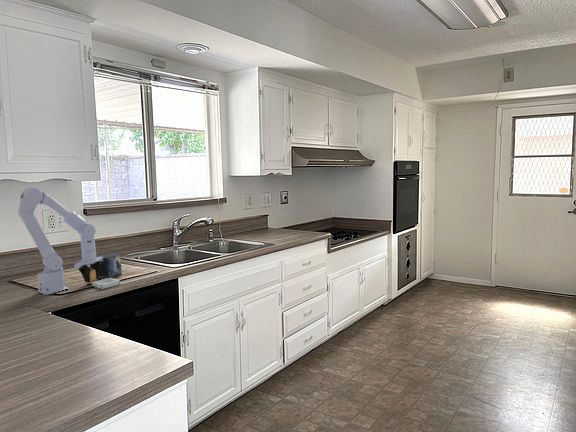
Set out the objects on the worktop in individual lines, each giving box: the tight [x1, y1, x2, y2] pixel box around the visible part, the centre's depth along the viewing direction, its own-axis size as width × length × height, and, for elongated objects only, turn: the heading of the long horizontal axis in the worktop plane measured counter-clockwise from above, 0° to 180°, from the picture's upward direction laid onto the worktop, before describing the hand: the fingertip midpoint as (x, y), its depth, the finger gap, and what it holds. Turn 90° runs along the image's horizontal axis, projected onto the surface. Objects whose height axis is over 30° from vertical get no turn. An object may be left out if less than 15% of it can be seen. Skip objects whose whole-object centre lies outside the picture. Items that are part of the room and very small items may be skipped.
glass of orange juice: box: [86, 269, 97, 285], centre depth 193 cm, size 4×4×6 cm
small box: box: [96, 252, 123, 279], centre depth 203 cm, size 11×6×10 cm, turn 167°
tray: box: [91, 278, 121, 290], centre depth 189 cm, size 8×8×2 cm
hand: (91, 280), depth 193 cm, fingers closed on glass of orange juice, 4 cm apart
